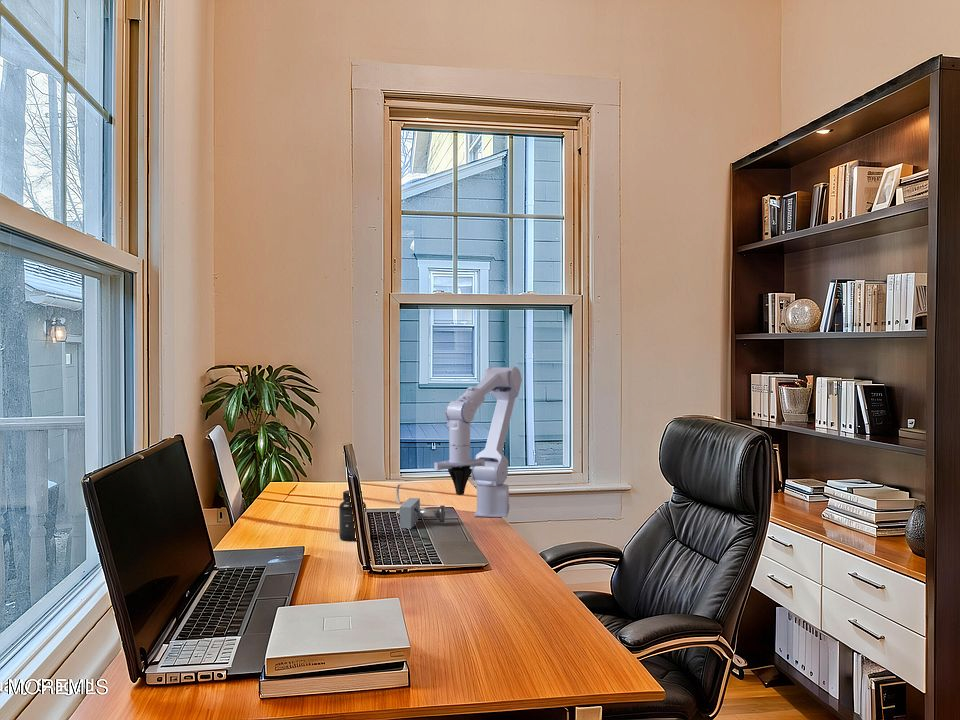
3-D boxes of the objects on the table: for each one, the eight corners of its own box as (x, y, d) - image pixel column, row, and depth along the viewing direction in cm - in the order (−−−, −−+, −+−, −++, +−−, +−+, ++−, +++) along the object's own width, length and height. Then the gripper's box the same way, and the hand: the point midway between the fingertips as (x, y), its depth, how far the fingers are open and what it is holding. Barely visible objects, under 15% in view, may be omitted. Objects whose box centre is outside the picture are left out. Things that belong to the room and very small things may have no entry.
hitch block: (419, 519, 208) (419, 498, 208) (410, 529, 196) (410, 507, 196) (409, 518, 209) (409, 497, 209) (399, 529, 197) (399, 507, 197)
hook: (411, 500, 233) (430, 523, 215) (382, 503, 230) (399, 526, 212) (411, 478, 232) (431, 499, 214) (382, 480, 229) (400, 502, 210)
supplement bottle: (333, 539, 187) (333, 492, 186) (350, 533, 193) (350, 488, 193) (355, 542, 184) (355, 495, 183) (371, 536, 190) (371, 490, 189)
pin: (445, 520, 204) (445, 503, 204) (442, 524, 199) (442, 507, 199) (413, 519, 205) (413, 503, 205) (410, 523, 200) (410, 506, 200)
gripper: (476, 441, 207) (476, 489, 208) (429, 444, 201) (429, 494, 201) (488, 444, 201) (488, 493, 201) (440, 447, 194) (440, 498, 195)
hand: (459, 494), depth 201 cm, fingers closed
